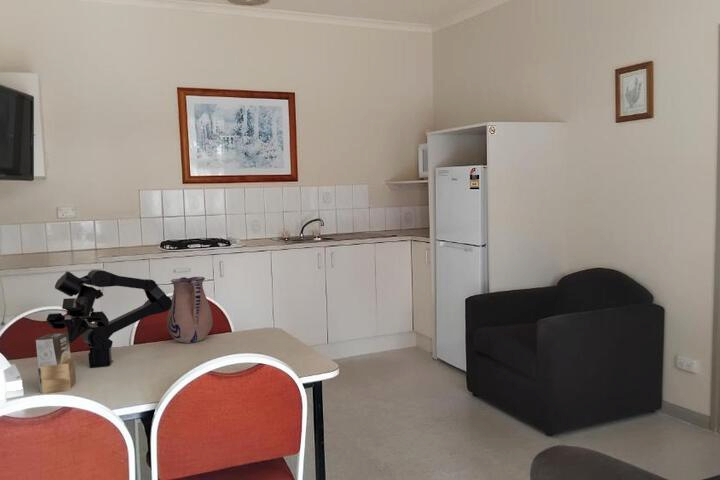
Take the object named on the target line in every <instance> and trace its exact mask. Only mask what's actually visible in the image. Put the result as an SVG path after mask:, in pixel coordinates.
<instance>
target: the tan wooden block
mask: <svg viewBox="0 0 720 480" xmlns="http://www.w3.org/2000/svg"><path fill="white" fill-rule="evenodd" d="M75 363H76V362H75V357H70V359H69V360H68V361H67V362H66V363H65V364H60V365H50V366H41V367H40V369H41V380H42V391H43V392H42V394H50V393H51V394H52V393H61V392H69V391H70V392H71V390H72V388H73V387H74V386H75V385H76V384H77V376H76V364H75Z"/></svg>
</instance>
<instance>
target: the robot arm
mask: <svg viewBox="0 0 720 480" xmlns="http://www.w3.org/2000/svg"><path fill="white" fill-rule="evenodd" d="M95 287H97V288H99V289H96V288H95ZM108 287H109V288H110V287H122V288H123V287H124V288H130V289H138V290H139V289H140V290H143V292H144V293H145V296H146V298H147V300H146V301H145V302H144V304H142V305H140V306H138V307H137V308H134V309H132V310H131V311H128V312H126V313H123V314H122V315H120V316H117V317H116V318H114V319H112V320H110V321H109V318H108V317H107V315H106V314H105V313H104V311H102V310H101V311H95V309H94V307H93V306H94V304H95V301H96V300H98V299H101V298H102V297H103V296H104V292H102V291H101V289H100V288H108ZM54 289H55V290H57V291H59V292H61V293H62V294H64V295H67V296H69V297H70V298H63V301H62V306H61V309H63V310H65V311H66V314H67V315H63V314H62V313H61V312H59V313H58V312H57V313H52V312H51V313H48V315H47V317H46V322H47V323H48V325H50V327H52V329H54V330H64V329H65V328H66V329H67V332H68V334H69V344H72V343H73V342H75V341H76V340H77V339H78V338H79V337H80V336H81V339H82V342H84V343H86V344H87V346H88V347H89V352H88V354H87V355H88V364H89V368H91V369H92V368H100V367H102V368H103V367H110V366H111V365H112V363H113V362H114V360H113V359H112V347H113V340H111V339H110V337H112V335H114V333H116V332H119V331H120V330H123V329H125V328H126V327H128V326H131V325H133V324H135V323H137V322H139V321H141V320H143V319H146V318H147V317H149V316H152V315H158V314H162V313H165V312H169V310H170V309H171V306H172V297H170V296H167V294H166V293H165V292H164V291H163V290H162V289H161V288H160V286H159V285H158V284H157V283H156V281H155V280H154V279H150V278H149V279H147V278H145V279H143V278H137V277H129V276H124V275H123V276H120V275H117V274H114V273H112V272H108V271H107V270H102V269H91V270H89V271H88V273H87V275H83V276H82V277H78V276H77V275H75V274H73V273H72V272H70V271H68V270H67V271H65V273H64V274H63V275H61V276H60V278H59V279H57V281H56V283H55V285H54ZM73 296H76V297H75V298H74V297H73Z"/></svg>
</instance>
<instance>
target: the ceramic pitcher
mask: <svg viewBox="0 0 720 480" xmlns="http://www.w3.org/2000/svg"><path fill="white" fill-rule="evenodd" d="M205 280H206V278H205V277H204V276H192V277H185V276H182V277H179V278H173V279H171V280H170V282H171V283H172V285H173V292H172V293H173V294H172V297H171V300H172V306H171V309H170V310H168V311H167V312H168V313H167V317H166V328H167V330H168V333H169V334H170V336H171V337H172V338H173V339H174V340H175V341H177V342H178V343H180V342H181V343H187V344H188V343H189V344H191V343H197V342H200V341H203V340H204V339H206V337H207V336H208V334H209V333H210V331H211V330H212V327H213V323H214V317H213V314H212V309H211V306H210V304H209V300H208V299H207V295H206V293H205V290H204V286H203V282H204V281H205Z"/></svg>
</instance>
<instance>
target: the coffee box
mask: <svg viewBox="0 0 720 480" xmlns="http://www.w3.org/2000/svg"><path fill="white" fill-rule="evenodd" d="M70 346H71V345H70V343H69V334H68V331H67V332H54V333H48V334H45V335H43V336H41V337H39V338H36V339H35V347H36V358H37V371H38V383H39V384H38V385H39V392H40V393H43V391H42V380H41V369H40V367H41V366H50V365H60V364H65V363H66V362H67V361H68V360H69V359H70V358H71V349H70Z"/></svg>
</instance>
